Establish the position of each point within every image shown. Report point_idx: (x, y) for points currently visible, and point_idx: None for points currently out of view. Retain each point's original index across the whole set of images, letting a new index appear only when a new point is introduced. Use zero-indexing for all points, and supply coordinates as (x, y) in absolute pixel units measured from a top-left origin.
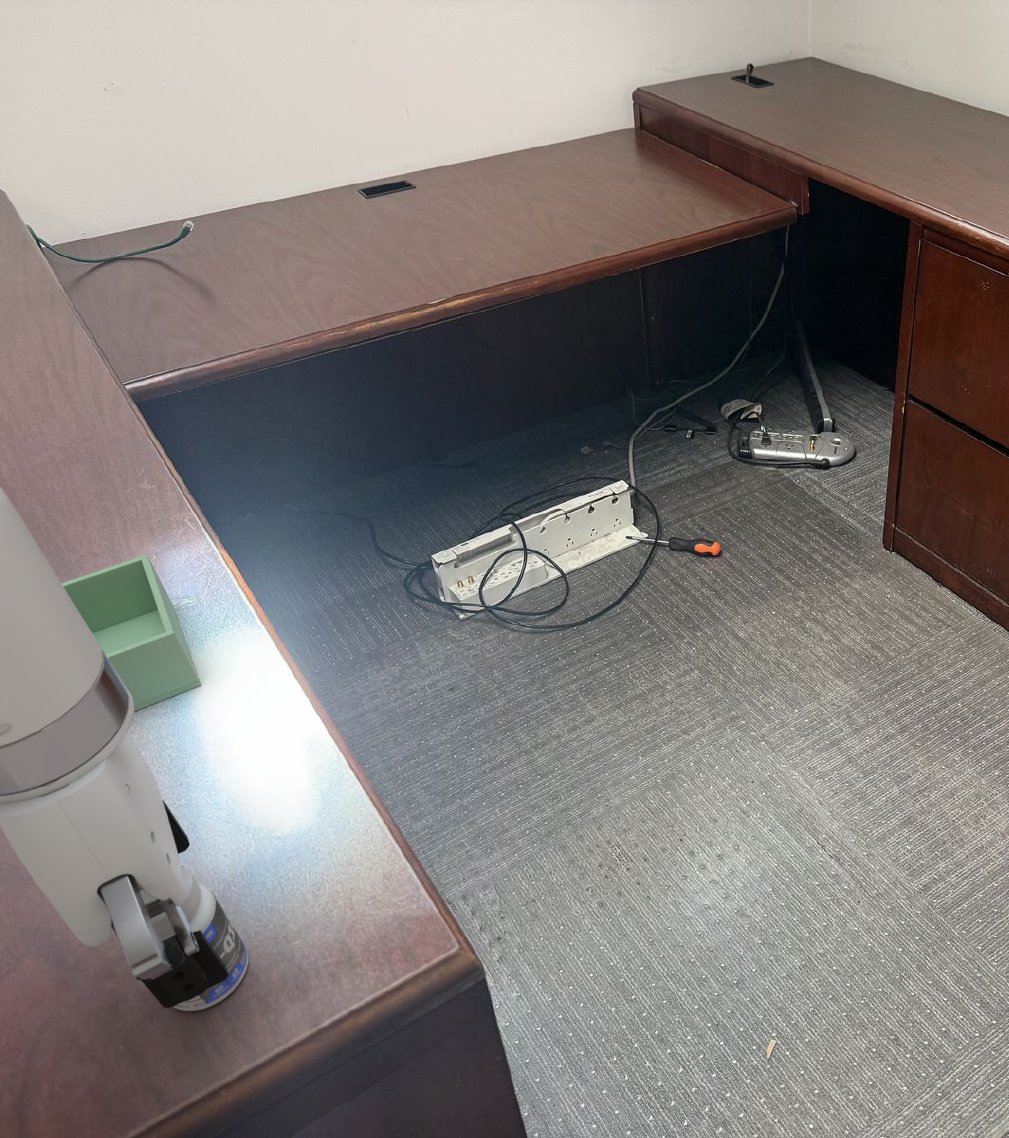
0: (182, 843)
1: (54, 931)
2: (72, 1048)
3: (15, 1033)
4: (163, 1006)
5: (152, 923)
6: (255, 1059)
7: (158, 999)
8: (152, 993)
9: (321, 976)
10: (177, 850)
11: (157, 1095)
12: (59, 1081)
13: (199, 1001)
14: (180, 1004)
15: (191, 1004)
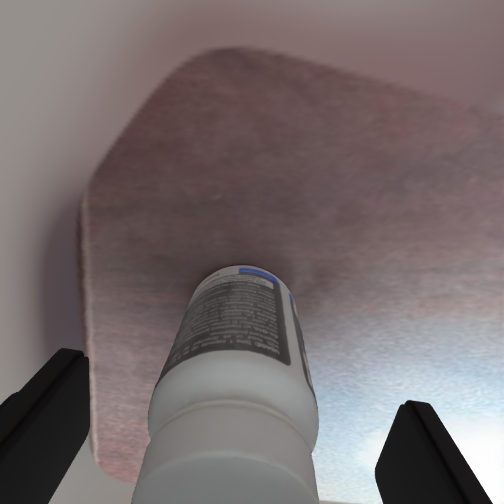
0: (381, 492)
1: (487, 180)
2: (263, 142)
3: (355, 78)
4: (57, 352)
5: (132, 499)
6: (93, 309)
7: (37, 372)
8: (21, 389)
9: (151, 393)
10: (381, 470)
11: (116, 209)
12: (223, 111)
13: (188, 305)
14: (201, 286)
15: (193, 295)
